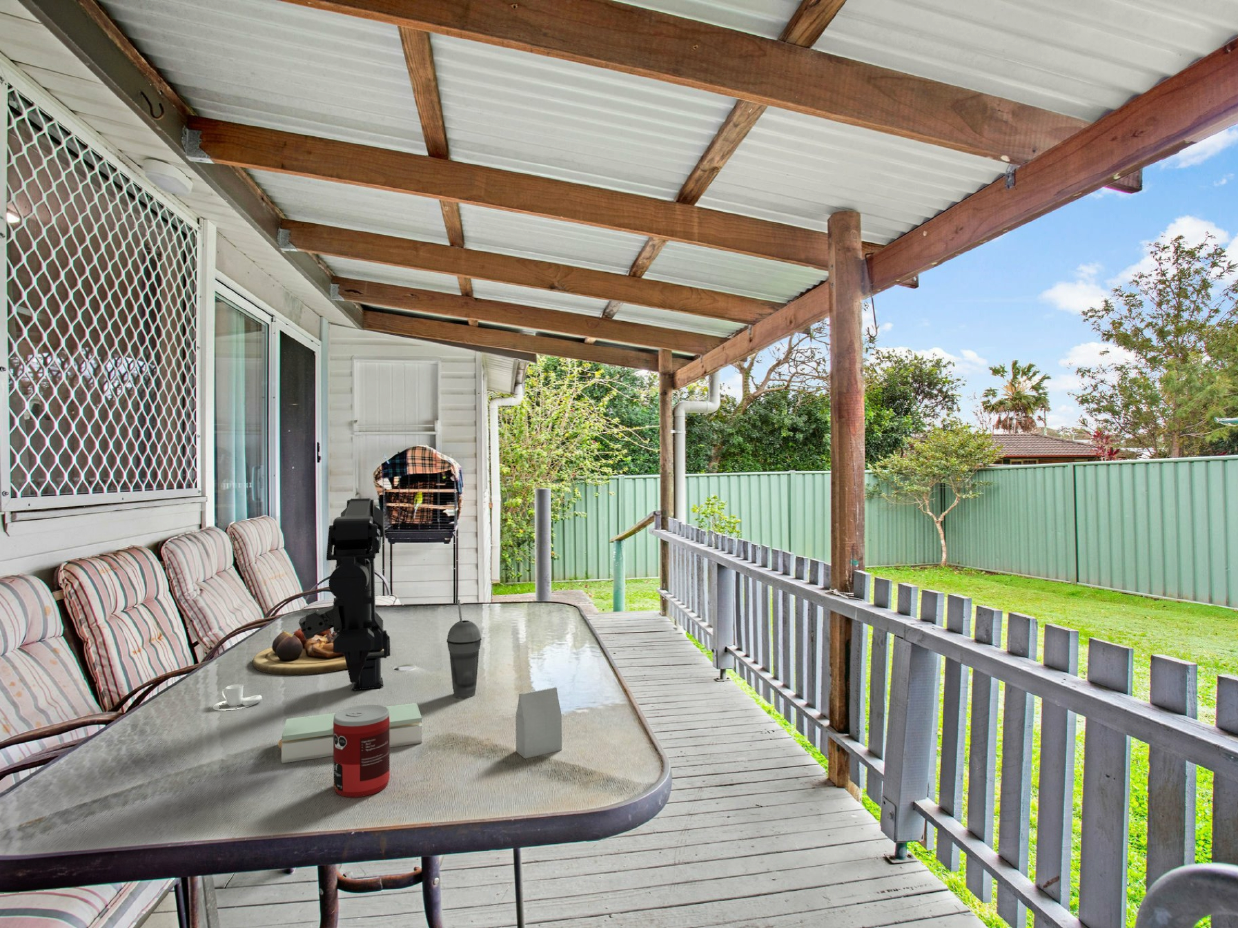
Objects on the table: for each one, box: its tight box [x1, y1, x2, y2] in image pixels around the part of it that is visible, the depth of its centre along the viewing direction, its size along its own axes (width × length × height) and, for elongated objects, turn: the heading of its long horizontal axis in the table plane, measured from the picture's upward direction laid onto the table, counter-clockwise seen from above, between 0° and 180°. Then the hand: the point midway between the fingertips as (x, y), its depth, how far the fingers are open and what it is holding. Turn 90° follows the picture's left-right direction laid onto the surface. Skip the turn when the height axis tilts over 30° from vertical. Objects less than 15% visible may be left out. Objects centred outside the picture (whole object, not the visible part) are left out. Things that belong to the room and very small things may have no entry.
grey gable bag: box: [515, 686, 563, 759], centre depth 117 cm, size 4×7×10 cm, turn 121°
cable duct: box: [281, 723, 423, 764], centre depth 121 cm, size 10×22×3 cm, turn 111°
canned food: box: [332, 704, 391, 798], centre depth 104 cm, size 8×8×11 cm
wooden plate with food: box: [252, 627, 384, 676], centre depth 178 cm, size 32×32×8 cm
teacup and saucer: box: [212, 683, 263, 712], centre depth 142 cm, size 9×8×4 cm
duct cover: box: [281, 702, 423, 741], centre depth 121 cm, size 10×22×2 cm, turn 111°
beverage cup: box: [446, 599, 483, 699], centre depth 147 cm, size 7×7×20 cm
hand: (353, 681), depth 119 cm, fingers closed
